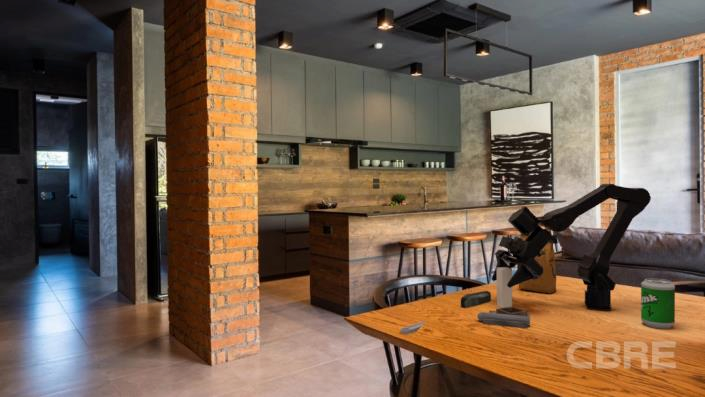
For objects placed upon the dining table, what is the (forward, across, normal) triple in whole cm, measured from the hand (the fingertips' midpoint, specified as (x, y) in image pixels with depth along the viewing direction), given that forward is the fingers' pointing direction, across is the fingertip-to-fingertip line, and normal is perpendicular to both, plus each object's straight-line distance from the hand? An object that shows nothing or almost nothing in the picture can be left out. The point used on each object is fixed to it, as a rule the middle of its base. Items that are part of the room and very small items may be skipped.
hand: (500, 283), depth 140 cm
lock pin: (+5, 0, +7) cm, 9 cm away
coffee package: (-12, -22, +25) cm, 35 cm away
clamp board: (+9, +12, +3) cm, 15 cm away
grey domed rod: (+10, +16, 0) cm, 19 cm away
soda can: (-17, +22, +30) cm, 41 cm away
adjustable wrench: (+23, +6, -10) cm, 26 cm away
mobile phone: (+10, -5, +2) cm, 12 cm away
